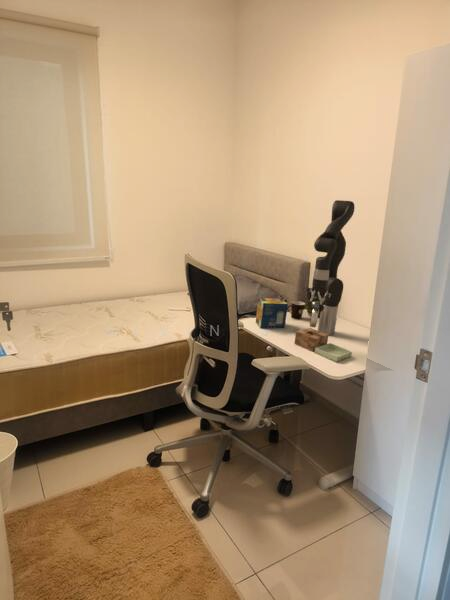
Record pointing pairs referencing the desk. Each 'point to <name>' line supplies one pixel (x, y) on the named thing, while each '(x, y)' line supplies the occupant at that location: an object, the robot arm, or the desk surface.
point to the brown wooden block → (310, 339)
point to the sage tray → (333, 352)
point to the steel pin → (314, 313)
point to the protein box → (271, 313)
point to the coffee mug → (296, 309)
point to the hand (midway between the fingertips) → (316, 309)
